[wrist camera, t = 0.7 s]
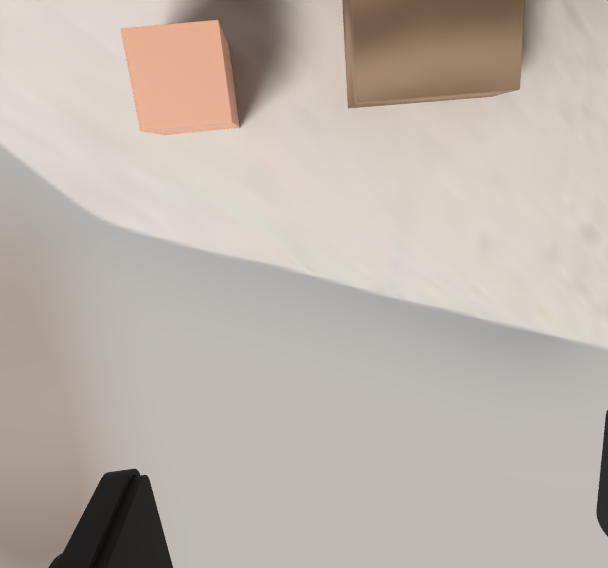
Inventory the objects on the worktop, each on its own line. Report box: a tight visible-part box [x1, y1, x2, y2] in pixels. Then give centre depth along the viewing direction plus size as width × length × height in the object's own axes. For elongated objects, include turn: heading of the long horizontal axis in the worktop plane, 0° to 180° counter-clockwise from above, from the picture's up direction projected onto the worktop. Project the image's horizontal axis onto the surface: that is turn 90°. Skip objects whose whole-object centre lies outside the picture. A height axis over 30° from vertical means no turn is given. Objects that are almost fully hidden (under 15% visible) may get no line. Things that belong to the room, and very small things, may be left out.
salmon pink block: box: [121, 20, 240, 135], centre depth 26 cm, size 5×5×6 cm
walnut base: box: [343, 0, 525, 108], centre depth 27 cm, size 10×10×4 cm
